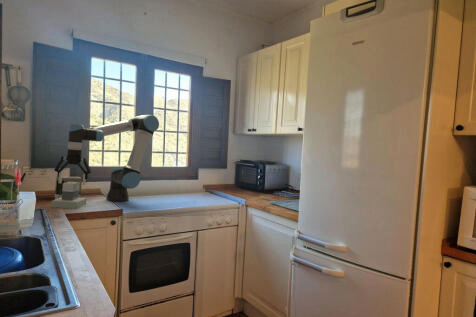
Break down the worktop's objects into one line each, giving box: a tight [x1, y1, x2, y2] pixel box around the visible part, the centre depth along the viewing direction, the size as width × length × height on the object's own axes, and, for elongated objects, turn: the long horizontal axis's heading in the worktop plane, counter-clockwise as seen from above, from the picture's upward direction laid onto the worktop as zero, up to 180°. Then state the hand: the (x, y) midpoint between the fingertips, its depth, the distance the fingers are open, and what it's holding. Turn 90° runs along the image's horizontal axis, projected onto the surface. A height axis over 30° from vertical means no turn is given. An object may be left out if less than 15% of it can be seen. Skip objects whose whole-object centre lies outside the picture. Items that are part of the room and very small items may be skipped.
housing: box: [62, 182, 80, 201], centre depth 184 cm, size 12×6×10 cm, turn 9°
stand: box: [50, 197, 87, 210], centre depth 183 cm, size 14×16×4 cm
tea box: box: [54, 176, 83, 200], centre depth 205 cm, size 15×10×15 cm, turn 123°
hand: (72, 184), depth 184 cm, fingers open, 13 cm apart
